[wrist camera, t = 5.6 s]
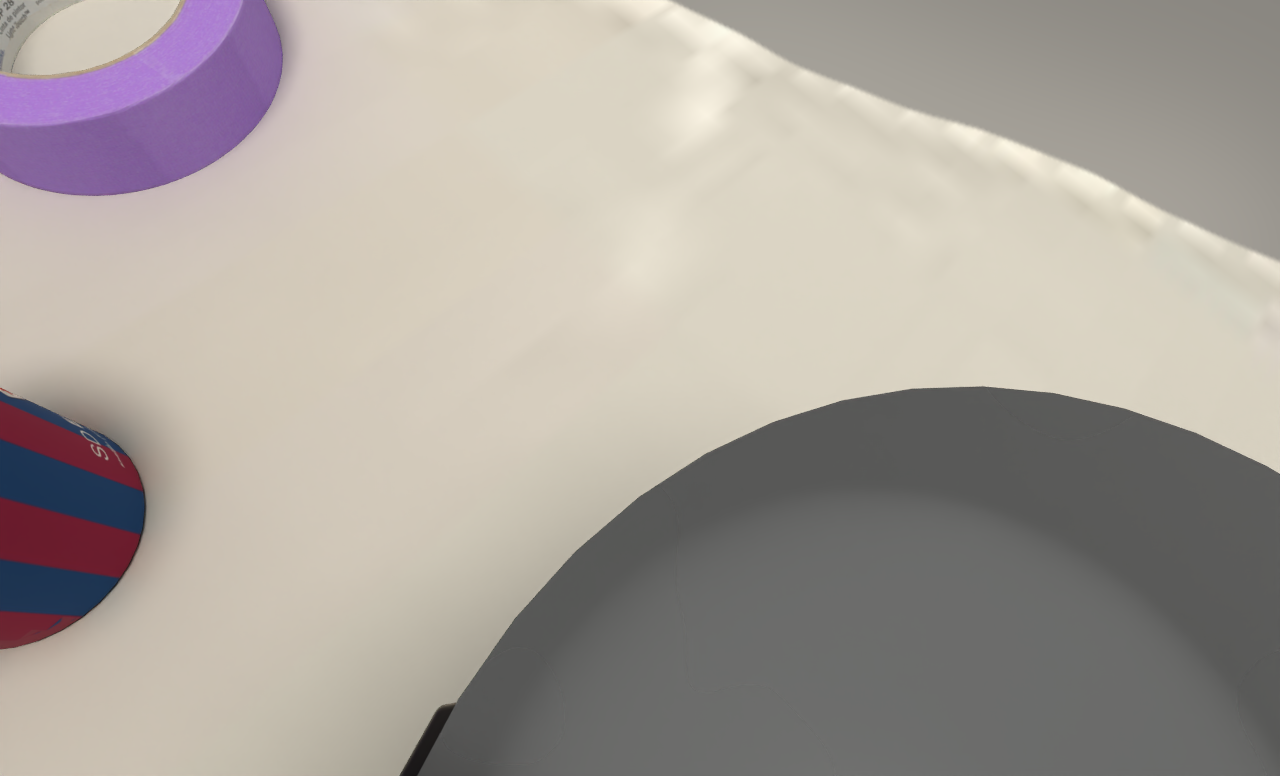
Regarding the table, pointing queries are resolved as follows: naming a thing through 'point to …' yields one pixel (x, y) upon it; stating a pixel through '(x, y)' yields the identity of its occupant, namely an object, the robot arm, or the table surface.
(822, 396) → the table surface
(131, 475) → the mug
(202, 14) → the masking tape
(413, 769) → the robot arm
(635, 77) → the table surface
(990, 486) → the tin
